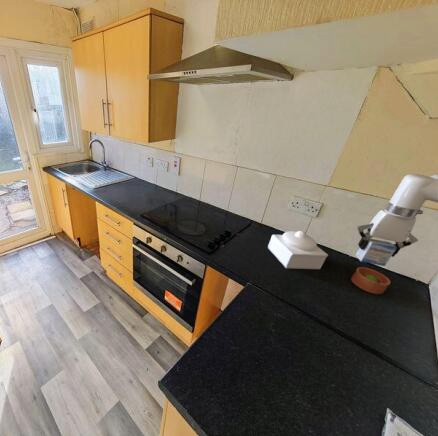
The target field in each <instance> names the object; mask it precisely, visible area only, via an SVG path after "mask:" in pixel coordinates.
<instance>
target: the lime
mask: <svg viewBox="0 0 438 436" xmlns="http://www.w3.org/2000/svg"><path fill="white" fill-rule="evenodd" d="M364 277H366V278H367V279H369V280H372V281H374V282H377V283H378V280H377V278H376V277H374V276H372V275H365V276H364Z"/></svg>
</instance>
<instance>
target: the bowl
mask: <svg viewBox="0 0 438 436" xmlns="http://www.w3.org/2000/svg"><path fill="white" fill-rule="evenodd" d="M365 275H372V276H374V277H376V278H377V280H378V283H377V282H374V281H372V280H369V279H367V278H366V277H364V276H365ZM350 280H351V282H352V283H353V284H354V285H355V286H356V287H358V288H359V289H360V290H363V291H365V292H368V293H370V294H374V295H382V294H384V293H385V291H386V290H387V289H388V288H389V286H390V285H391V280H390V279H389V278H388V277H387V276H386V275H384V274H383V273H381V272H379V271H377V270H375V269H372V268H369V267H363V266H361V267H360V266H359V267H357V268H356V270H355V271H354V273H353V274H352V276H351V277H350Z"/></svg>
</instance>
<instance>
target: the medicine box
mask: <svg viewBox="0 0 438 436" xmlns="http://www.w3.org/2000/svg"><path fill="white" fill-rule="evenodd" d="M367 241H368V243H367V245H366V246H365V248H364V249H363V250H362V249H360V247H359V248H358V250H357V252H356V254H355V256H356V258H357V259H358V260H359V261H360V262H361V263H366V264H372V265H377V266H382V267H385V266H386V265H387V264H388V262H389V261H390V259H391V257H392V254H393V253H394V251H395V250H396V247H395V246H394V245H393V244H394V243H392V242H390V241H387V240H386V241H385V240H379V239H374V238H370V239H368V240H367Z"/></svg>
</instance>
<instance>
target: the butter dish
mask: <svg viewBox="0 0 438 436" xmlns="http://www.w3.org/2000/svg"><path fill="white" fill-rule="evenodd" d="M268 242H269V243H268V245H267V249H268V250H269V251H270V252H271V253H272V255H274V257H276V259H277V260H278V261H279V262H280V263H281V264H282V265H283V267H284V268H285V269H296V270H297V269H299V270H300V269H301V270H302V269H304V270H321V268H322V266H323V264H324V263H325V261H326V259H327V257H329V254H328V253H326V251H324V250H323V249H321V248H320V247H319V246H318V243H317V241H316V240H315V239H314V238H313V237H311V236H310V235H308V234H307V233H306V232H305V231H304V230H298V231H295V230H294V231H293V230H292V231H291V230H290V231H285V232H284V233H283V234H272V235H271V238H270V240H269V241H268Z"/></svg>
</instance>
